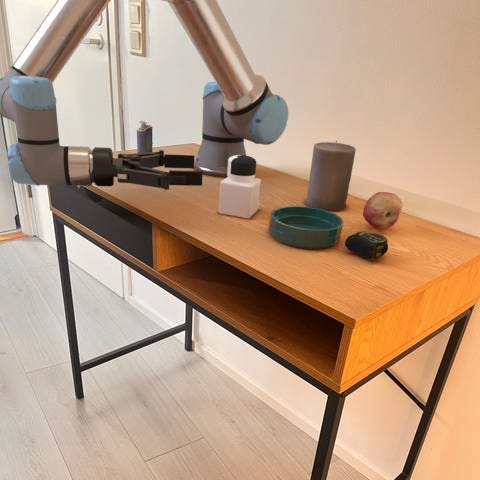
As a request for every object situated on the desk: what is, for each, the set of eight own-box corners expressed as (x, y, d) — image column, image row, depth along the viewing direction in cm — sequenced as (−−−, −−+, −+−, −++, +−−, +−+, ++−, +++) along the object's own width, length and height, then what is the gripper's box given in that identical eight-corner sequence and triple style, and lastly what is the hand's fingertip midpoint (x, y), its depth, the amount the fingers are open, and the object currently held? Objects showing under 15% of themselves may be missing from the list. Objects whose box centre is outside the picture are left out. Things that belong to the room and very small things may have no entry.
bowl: (289, 219, 108) (292, 201, 106) (350, 236, 102) (354, 217, 100) (255, 236, 97) (257, 217, 95) (320, 256, 91) (324, 236, 89)
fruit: (359, 231, 104) (366, 194, 100) (361, 220, 111) (368, 185, 107) (396, 237, 103) (405, 200, 99) (396, 226, 109) (405, 190, 105)
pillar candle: (353, 208, 118) (366, 144, 110) (322, 213, 113) (333, 145, 106) (327, 197, 125) (338, 135, 117) (297, 200, 120) (305, 136, 113)
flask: (144, 164, 140) (143, 124, 135) (134, 162, 140) (133, 123, 135) (154, 157, 148) (153, 119, 143) (144, 156, 148) (143, 118, 143)
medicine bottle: (258, 210, 112) (263, 156, 106) (248, 219, 106) (253, 162, 100) (229, 204, 114) (232, 151, 107) (218, 213, 108) (220, 157, 102)
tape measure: (341, 251, 94) (344, 233, 92) (365, 245, 97) (369, 227, 96) (367, 265, 89) (371, 245, 87) (392, 258, 93) (397, 240, 91)
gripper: (97, 169, 111) (190, 172, 115) (90, 204, 90) (205, 206, 95) (94, 135, 107) (191, 139, 112) (87, 162, 86) (206, 166, 91)
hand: (198, 169), depth 103 cm, fingers open, 13 cm apart
